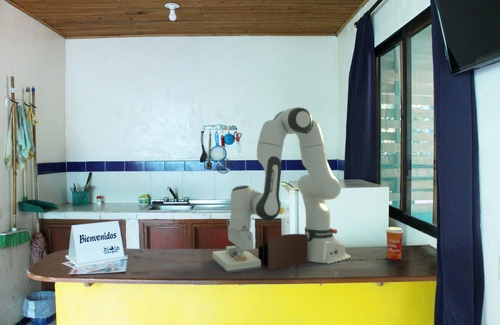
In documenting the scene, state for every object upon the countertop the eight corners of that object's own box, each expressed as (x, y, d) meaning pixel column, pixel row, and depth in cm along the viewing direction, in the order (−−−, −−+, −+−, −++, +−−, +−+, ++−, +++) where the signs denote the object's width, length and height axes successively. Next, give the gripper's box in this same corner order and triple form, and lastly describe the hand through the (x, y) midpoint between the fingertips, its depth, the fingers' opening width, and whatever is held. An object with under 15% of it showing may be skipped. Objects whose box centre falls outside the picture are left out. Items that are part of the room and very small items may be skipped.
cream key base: (243, 255, 168) (243, 248, 168) (260, 268, 150) (260, 260, 150) (212, 259, 163) (212, 251, 162) (227, 273, 144) (227, 264, 144)
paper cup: (382, 258, 166) (382, 228, 165) (390, 254, 171) (390, 226, 170) (398, 262, 160) (399, 231, 159) (406, 258, 165) (406, 228, 164)
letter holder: (308, 264, 157) (308, 232, 156) (268, 270, 148) (268, 237, 148) (295, 258, 166) (296, 228, 165) (257, 263, 157) (257, 232, 157)
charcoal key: (238, 255, 159) (238, 248, 159) (241, 257, 155) (241, 250, 155) (230, 256, 157) (230, 249, 157) (233, 258, 154) (233, 251, 154)
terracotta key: (243, 261, 154) (243, 254, 154) (246, 264, 150) (246, 257, 150) (234, 262, 152) (234, 255, 152) (237, 265, 149) (237, 258, 149)
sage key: (234, 252, 164) (234, 245, 164) (237, 254, 160) (237, 247, 160) (225, 253, 162) (225, 246, 162) (228, 255, 159) (228, 248, 159)
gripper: (257, 228, 142) (257, 262, 143) (238, 219, 161) (238, 249, 162) (242, 229, 140) (242, 264, 140) (225, 220, 159) (225, 250, 159)
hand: (240, 256), depth 151 cm, fingers closed, pressing on terracotta key
